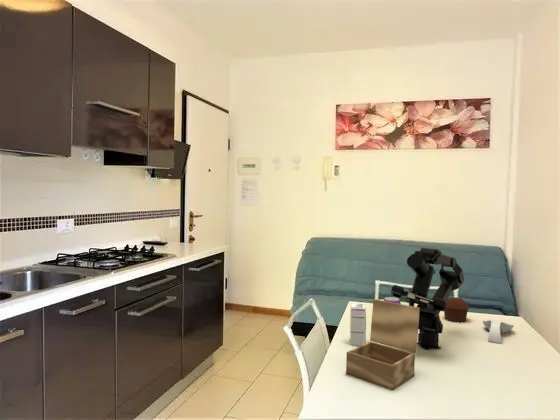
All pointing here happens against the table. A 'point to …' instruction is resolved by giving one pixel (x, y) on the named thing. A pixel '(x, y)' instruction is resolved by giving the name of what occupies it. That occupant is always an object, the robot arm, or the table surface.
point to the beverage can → (392, 300)
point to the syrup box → (358, 324)
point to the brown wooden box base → (380, 365)
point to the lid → (395, 325)
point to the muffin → (456, 310)
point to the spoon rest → (497, 329)
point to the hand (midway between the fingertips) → (411, 320)
